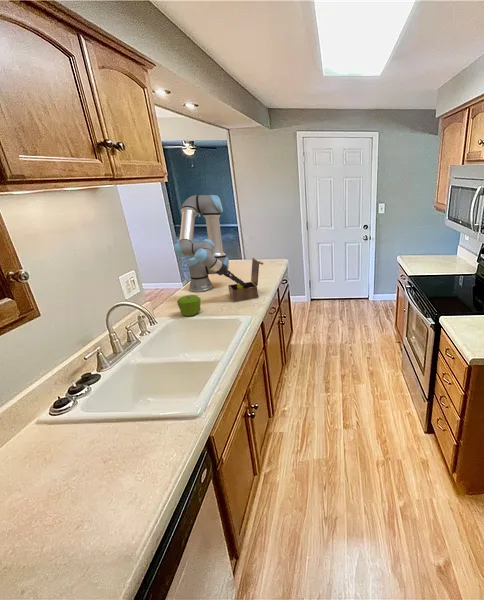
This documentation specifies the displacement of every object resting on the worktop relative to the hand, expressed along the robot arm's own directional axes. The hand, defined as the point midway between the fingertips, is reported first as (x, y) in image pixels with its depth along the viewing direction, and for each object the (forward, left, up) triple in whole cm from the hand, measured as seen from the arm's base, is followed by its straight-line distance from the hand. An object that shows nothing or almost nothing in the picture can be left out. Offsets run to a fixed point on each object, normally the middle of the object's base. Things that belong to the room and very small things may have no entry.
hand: (245, 286), depth 221 cm
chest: (+1, -2, -7) cm, 7 cm away
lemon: (+1, -3, -4) cm, 5 cm away
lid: (+1, +6, +10) cm, 12 cm away
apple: (+15, -36, -7) cm, 40 cm away
